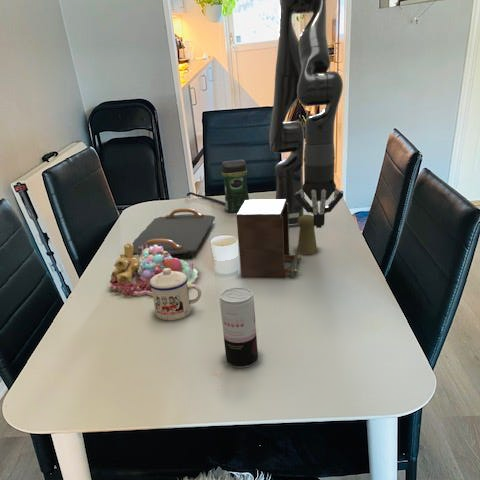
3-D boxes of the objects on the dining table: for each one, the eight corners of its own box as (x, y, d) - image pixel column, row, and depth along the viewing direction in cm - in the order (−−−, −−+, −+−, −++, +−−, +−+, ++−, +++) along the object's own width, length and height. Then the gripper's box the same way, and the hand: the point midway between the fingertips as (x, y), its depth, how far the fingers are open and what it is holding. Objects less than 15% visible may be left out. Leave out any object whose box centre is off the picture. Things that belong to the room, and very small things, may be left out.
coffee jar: (248, 205, 197) (245, 157, 188) (251, 211, 190) (247, 161, 181) (224, 207, 196) (219, 159, 187) (226, 213, 189) (221, 164, 180)
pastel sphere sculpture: (100, 300, 132) (92, 268, 127) (121, 265, 152) (115, 236, 148) (193, 295, 130) (189, 262, 126) (202, 260, 151) (198, 231, 146)
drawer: (301, 258, 145) (301, 253, 144) (297, 277, 134) (297, 271, 133) (254, 258, 148) (254, 252, 147) (246, 276, 137) (246, 270, 136)
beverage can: (235, 348, 106) (229, 285, 99) (263, 354, 103) (259, 289, 96) (220, 364, 101) (212, 299, 94) (249, 371, 98) (243, 304, 91)
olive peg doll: (316, 246, 153) (316, 212, 147) (317, 254, 148) (317, 218, 142) (297, 247, 154) (296, 213, 148) (297, 255, 148) (296, 219, 143)
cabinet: (289, 259, 146) (287, 199, 137) (284, 278, 135) (282, 213, 126) (249, 259, 148) (245, 199, 140) (241, 277, 137) (236, 214, 129)
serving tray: (194, 262, 149) (192, 243, 146) (122, 263, 153) (118, 244, 150) (218, 220, 183) (216, 204, 180) (158, 222, 186) (155, 206, 183)
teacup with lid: (151, 322, 119) (143, 278, 113) (159, 304, 127) (151, 262, 121) (201, 320, 118) (195, 275, 112) (205, 302, 126) (200, 260, 120)
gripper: (346, 156, 126) (344, 222, 135) (294, 158, 129) (295, 222, 137) (346, 163, 120) (343, 231, 128) (291, 165, 122) (292, 232, 131)
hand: (318, 226), depth 133 cm, fingers closed
